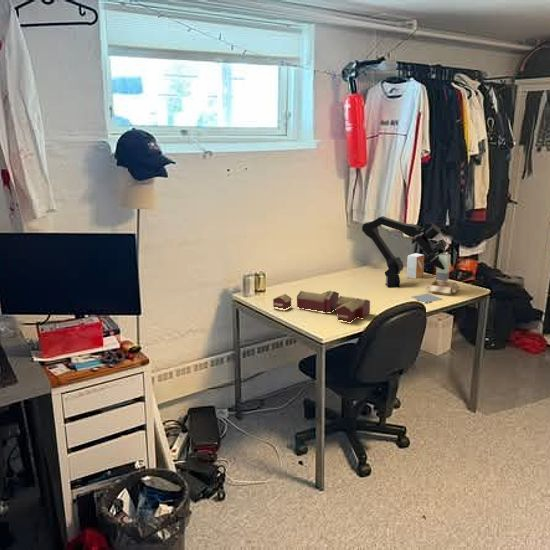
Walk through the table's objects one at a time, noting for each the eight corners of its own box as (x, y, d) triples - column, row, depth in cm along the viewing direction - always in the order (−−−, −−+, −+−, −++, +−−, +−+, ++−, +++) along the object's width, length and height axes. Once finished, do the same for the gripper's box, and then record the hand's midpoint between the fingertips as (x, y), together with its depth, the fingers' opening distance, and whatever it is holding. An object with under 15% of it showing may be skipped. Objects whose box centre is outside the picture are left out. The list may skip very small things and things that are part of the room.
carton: (424, 294, 279) (424, 285, 278) (432, 286, 291) (432, 278, 290) (453, 297, 272) (453, 289, 271) (460, 290, 284) (460, 281, 283)
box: (435, 279, 278) (437, 255, 274) (439, 277, 282) (440, 253, 278) (445, 281, 275) (447, 256, 272) (448, 278, 279) (450, 254, 276)
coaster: (410, 297, 274) (410, 296, 274) (427, 294, 278) (427, 293, 278) (425, 303, 264) (425, 302, 264) (442, 300, 268) (442, 299, 268)
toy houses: (372, 312, 254) (372, 292, 251) (354, 326, 237) (354, 304, 235) (289, 299, 277) (289, 280, 275) (268, 311, 261) (267, 291, 258)
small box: (416, 279, 307) (416, 256, 304) (406, 277, 312) (407, 255, 308) (423, 276, 313) (424, 254, 309) (414, 274, 317) (414, 252, 314)
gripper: (431, 238, 267) (451, 262, 264) (443, 232, 282) (463, 254, 279) (414, 252, 274) (435, 275, 271) (427, 245, 289) (446, 267, 285)
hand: (445, 268), depth 276 cm, fingers closed on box, 5 cm apart
